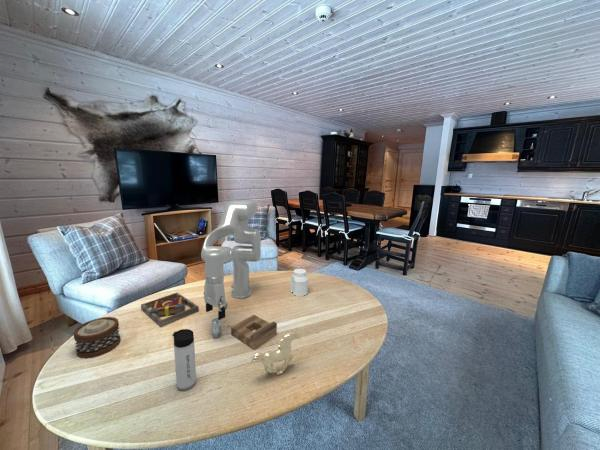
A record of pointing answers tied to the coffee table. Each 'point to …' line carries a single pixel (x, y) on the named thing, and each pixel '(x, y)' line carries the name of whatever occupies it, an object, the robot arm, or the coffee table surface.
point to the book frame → (171, 319)
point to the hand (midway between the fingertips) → (215, 314)
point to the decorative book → (168, 306)
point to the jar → (299, 282)
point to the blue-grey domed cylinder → (216, 328)
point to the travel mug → (184, 359)
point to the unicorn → (277, 354)
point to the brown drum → (97, 337)
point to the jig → (257, 337)
